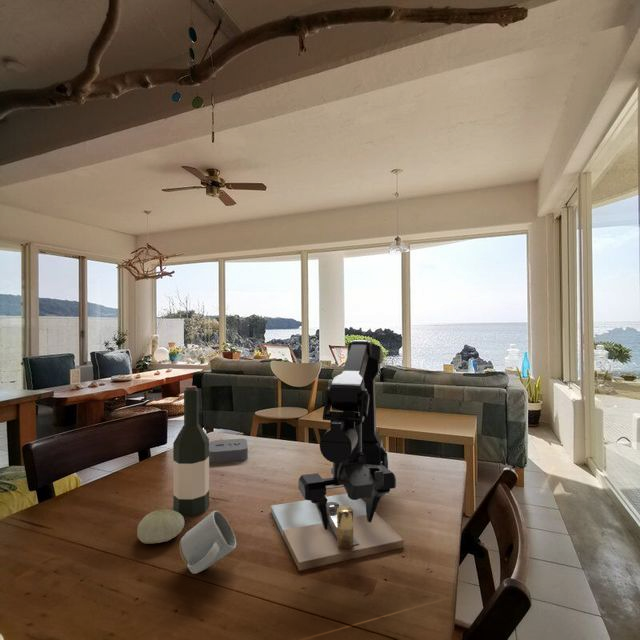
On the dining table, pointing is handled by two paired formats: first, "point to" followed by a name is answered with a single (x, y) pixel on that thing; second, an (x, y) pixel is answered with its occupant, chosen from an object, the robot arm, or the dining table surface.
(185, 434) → the wine bottle
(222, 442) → the streaming box
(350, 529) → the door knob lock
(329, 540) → the door board
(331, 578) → the dining table surface
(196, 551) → the ceramic mug
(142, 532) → the sea urchin shell
